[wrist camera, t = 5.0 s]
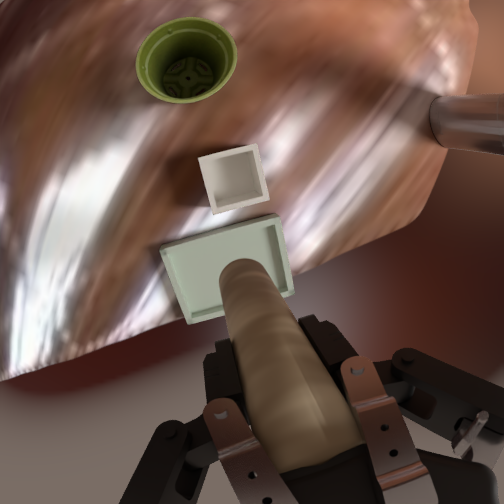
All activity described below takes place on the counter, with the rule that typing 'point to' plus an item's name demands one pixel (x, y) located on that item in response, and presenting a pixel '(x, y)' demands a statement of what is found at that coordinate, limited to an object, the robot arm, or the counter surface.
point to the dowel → (282, 374)
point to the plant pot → (186, 59)
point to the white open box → (234, 178)
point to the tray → (224, 263)
